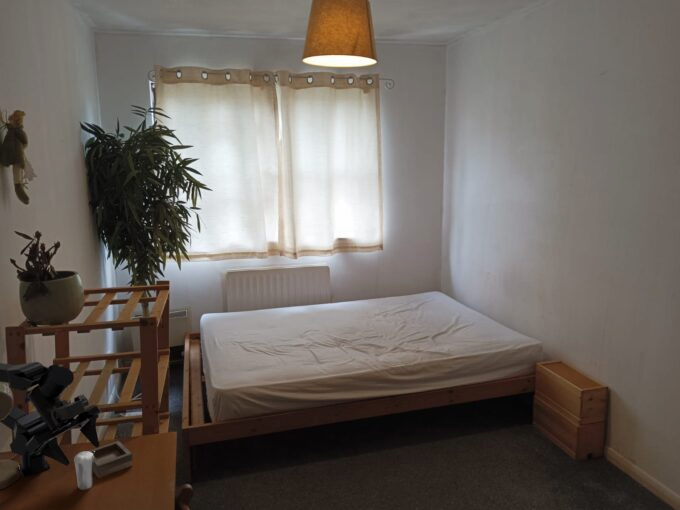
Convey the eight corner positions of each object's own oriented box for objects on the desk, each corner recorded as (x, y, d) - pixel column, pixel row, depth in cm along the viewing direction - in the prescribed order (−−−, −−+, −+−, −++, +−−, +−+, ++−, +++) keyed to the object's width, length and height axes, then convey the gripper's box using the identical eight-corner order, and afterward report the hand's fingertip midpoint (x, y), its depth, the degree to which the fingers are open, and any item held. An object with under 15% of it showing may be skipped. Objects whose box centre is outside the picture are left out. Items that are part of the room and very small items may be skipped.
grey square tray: (86, 463, 146) (85, 451, 146) (118, 451, 153) (118, 440, 152) (98, 478, 140) (98, 466, 139) (132, 465, 146) (131, 453, 146)
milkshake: (90, 493, 134) (88, 456, 132) (71, 489, 135) (69, 453, 133) (101, 482, 138) (100, 447, 136) (83, 479, 139) (81, 444, 138)
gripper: (30, 404, 126) (67, 459, 124) (94, 376, 143) (127, 423, 141) (10, 428, 130) (45, 480, 128) (74, 397, 147) (106, 443, 145)
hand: (83, 455), depth 135 cm, fingers open, 9 cm apart
